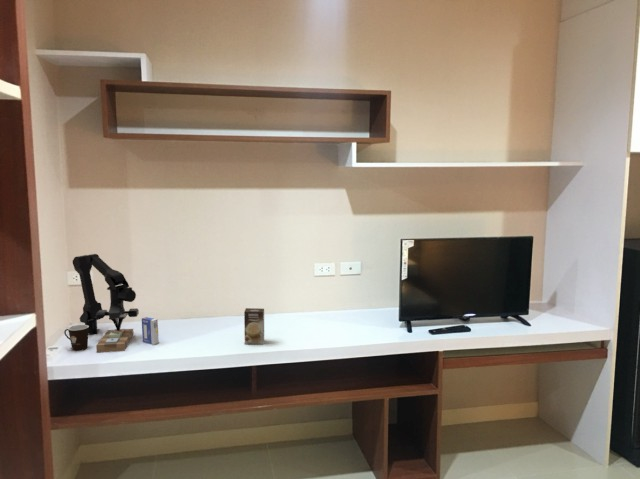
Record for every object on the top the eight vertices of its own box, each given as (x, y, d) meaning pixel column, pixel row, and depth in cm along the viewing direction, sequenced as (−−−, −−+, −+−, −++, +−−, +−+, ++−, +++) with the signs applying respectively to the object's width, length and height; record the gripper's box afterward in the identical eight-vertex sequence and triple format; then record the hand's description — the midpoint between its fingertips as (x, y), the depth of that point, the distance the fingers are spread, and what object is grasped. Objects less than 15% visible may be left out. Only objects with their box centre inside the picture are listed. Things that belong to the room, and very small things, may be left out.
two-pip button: (114, 335, 253) (114, 328, 253) (125, 334, 254) (124, 328, 254) (112, 338, 249) (112, 331, 248) (123, 337, 250) (122, 331, 249)
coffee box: (244, 344, 243) (243, 311, 241) (246, 340, 249) (245, 308, 247) (263, 344, 243) (262, 311, 241) (265, 340, 249) (264, 308, 247)
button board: (108, 336, 255) (107, 330, 254) (133, 335, 257) (133, 328, 256) (96, 352, 233) (96, 345, 232) (124, 350, 235) (124, 343, 234)
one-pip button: (108, 344, 240) (107, 338, 239) (119, 344, 241) (118, 337, 240) (105, 348, 235) (105, 341, 235) (116, 347, 236) (116, 340, 236)
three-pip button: (111, 337, 247) (111, 331, 246) (122, 337, 247) (121, 330, 247) (109, 341, 242) (108, 334, 241) (120, 340, 243) (119, 333, 242)
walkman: (142, 342, 247) (141, 317, 246) (147, 340, 250) (145, 316, 248) (154, 344, 243) (153, 320, 242) (158, 342, 246) (157, 318, 244)
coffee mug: (93, 348, 239) (92, 327, 237) (74, 353, 232) (72, 331, 231) (82, 342, 246) (80, 322, 245) (63, 347, 240) (62, 326, 239)
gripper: (92, 304, 240) (94, 336, 242) (134, 302, 243) (135, 334, 245) (98, 298, 250) (99, 329, 253) (138, 296, 254) (139, 327, 256)
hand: (118, 330), depth 251 cm, fingers closed, pressing on two-pip button
